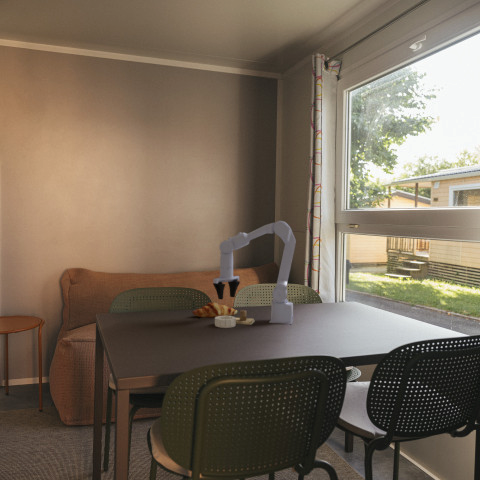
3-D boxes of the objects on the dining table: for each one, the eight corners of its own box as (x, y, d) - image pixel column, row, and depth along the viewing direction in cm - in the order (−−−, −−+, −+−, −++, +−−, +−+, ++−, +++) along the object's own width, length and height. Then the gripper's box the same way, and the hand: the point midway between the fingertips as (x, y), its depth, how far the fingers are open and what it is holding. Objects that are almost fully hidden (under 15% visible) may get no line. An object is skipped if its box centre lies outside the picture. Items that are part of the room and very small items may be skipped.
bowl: (237, 324, 190) (237, 316, 190) (232, 329, 182) (232, 320, 182) (217, 323, 192) (218, 315, 192) (212, 327, 184) (212, 319, 184)
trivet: (255, 321, 197) (255, 320, 197) (251, 325, 189) (251, 324, 189) (234, 320, 199) (234, 319, 199) (230, 324, 191) (230, 323, 191)
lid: (253, 320, 197) (254, 309, 197) (250, 324, 189) (250, 313, 189) (236, 319, 198) (236, 308, 198) (232, 323, 191) (232, 312, 190)
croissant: (234, 321, 213) (232, 305, 216) (241, 315, 205) (239, 298, 208) (191, 323, 206) (189, 306, 209) (196, 316, 197) (194, 299, 201)
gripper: (231, 265, 207) (231, 295, 207) (208, 268, 196) (208, 299, 196) (242, 266, 202) (242, 296, 202) (220, 269, 191) (220, 301, 192)
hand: (226, 298), depth 199 cm, fingers open, 7 cm apart
